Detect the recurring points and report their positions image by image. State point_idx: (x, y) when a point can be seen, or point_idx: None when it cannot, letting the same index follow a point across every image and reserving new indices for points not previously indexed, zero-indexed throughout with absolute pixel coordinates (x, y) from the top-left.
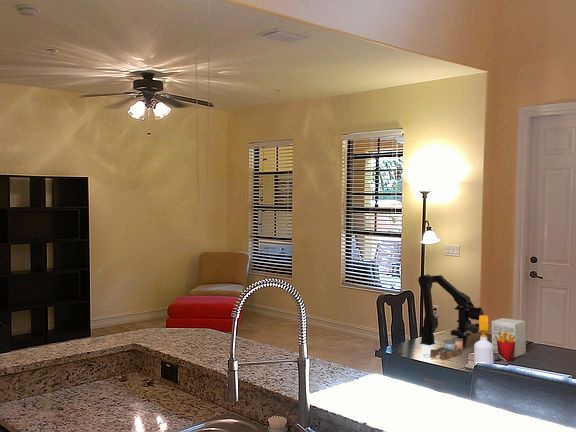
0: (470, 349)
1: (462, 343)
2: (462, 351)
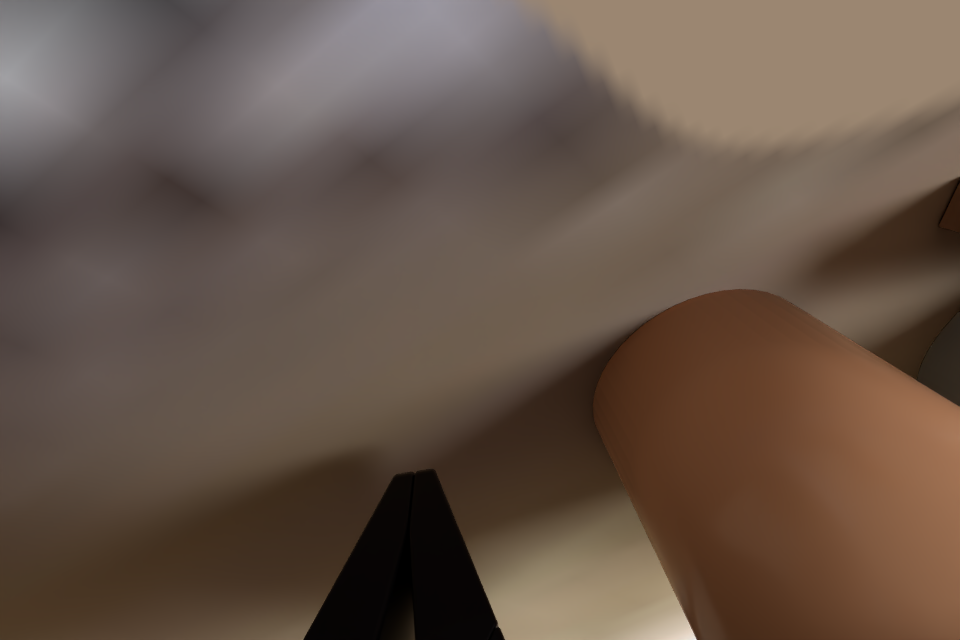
0: (299, 344)
1: (927, 476)
2: (716, 301)
